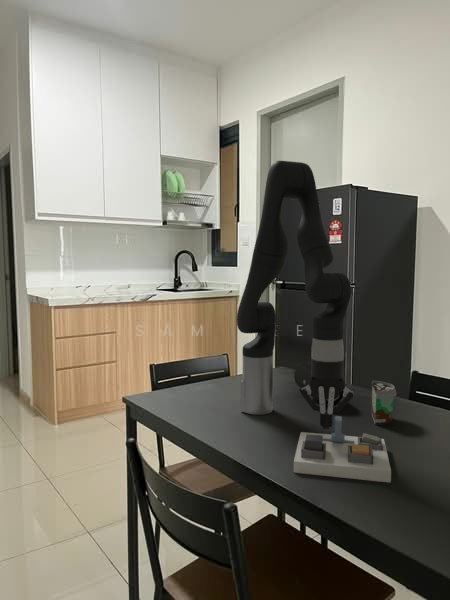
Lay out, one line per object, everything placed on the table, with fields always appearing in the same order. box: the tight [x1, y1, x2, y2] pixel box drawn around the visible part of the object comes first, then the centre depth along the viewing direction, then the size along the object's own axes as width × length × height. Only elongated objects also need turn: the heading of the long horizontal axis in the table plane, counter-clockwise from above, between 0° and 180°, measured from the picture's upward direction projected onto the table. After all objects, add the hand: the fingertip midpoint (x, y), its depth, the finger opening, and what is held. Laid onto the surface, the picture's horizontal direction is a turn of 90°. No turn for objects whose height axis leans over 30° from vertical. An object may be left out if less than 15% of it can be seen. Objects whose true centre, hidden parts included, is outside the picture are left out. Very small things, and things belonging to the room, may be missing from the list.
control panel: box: [293, 431, 392, 483], centre depth 108 cm, size 20×18×4 cm
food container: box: [371, 380, 398, 426], centre depth 135 cm, size 12×6×10 cm, turn 168°
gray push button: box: [305, 434, 323, 451], centre depth 106 cm, size 4×4×2 cm
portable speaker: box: [294, 361, 344, 408], centre depth 158 cm, size 26×10×10 cm, turn 10°
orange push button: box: [351, 444, 369, 455], centre depth 104 cm, size 4×4×2 cm
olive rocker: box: [361, 432, 380, 445], centre depth 111 cm, size 4×3×1 cm
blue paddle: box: [331, 415, 345, 442], centre depth 113 cm, size 3×4×5 cm
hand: (326, 427), depth 114 cm, fingers closed
